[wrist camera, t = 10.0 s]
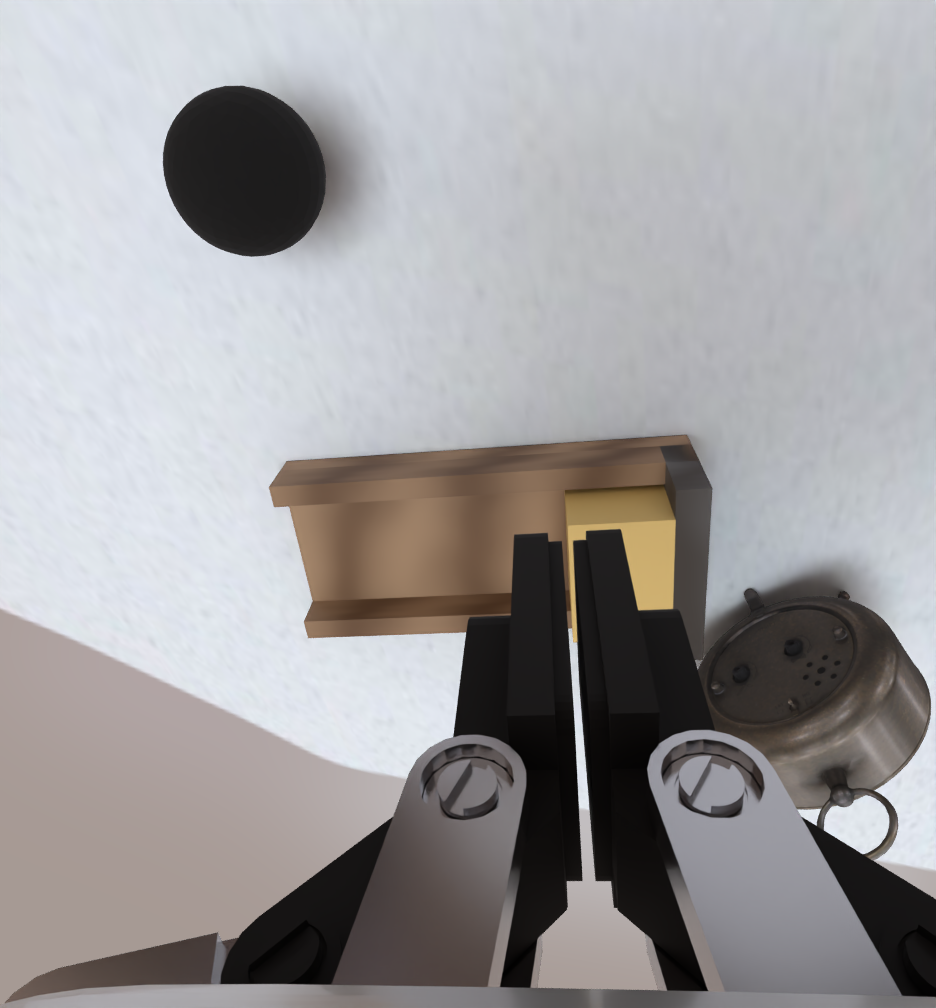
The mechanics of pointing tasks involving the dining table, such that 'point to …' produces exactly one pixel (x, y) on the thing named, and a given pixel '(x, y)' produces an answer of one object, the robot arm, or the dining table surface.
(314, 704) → the dining table surface
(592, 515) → the block
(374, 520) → the wooden tray
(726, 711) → the alarm clock
